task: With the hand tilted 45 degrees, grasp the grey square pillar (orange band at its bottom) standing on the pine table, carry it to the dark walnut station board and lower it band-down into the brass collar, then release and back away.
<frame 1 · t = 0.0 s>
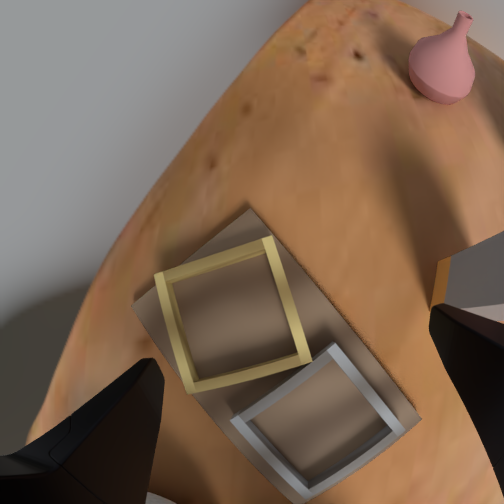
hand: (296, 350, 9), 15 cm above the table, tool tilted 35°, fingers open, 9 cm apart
station board: (277, 371, 23), on the table
grey square pillar: (456, 292, 22), on the table
pink vase: (430, 90, 26), on the table
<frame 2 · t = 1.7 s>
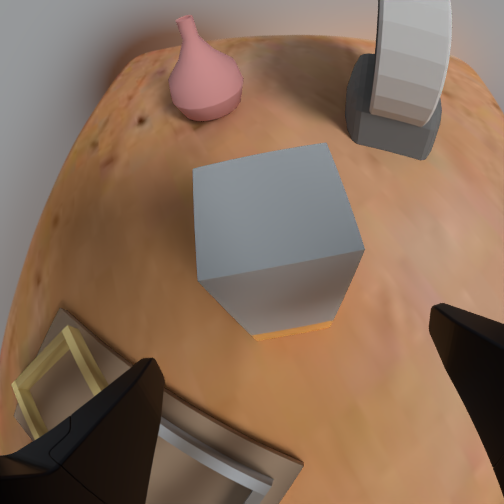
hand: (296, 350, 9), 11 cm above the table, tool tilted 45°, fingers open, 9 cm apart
station board: (123, 449, 18), on the table
grey square pillar: (288, 304, 21), on the table
pink vase: (215, 112, 31), on the table
alarm clock: (391, 113, 27), on the table
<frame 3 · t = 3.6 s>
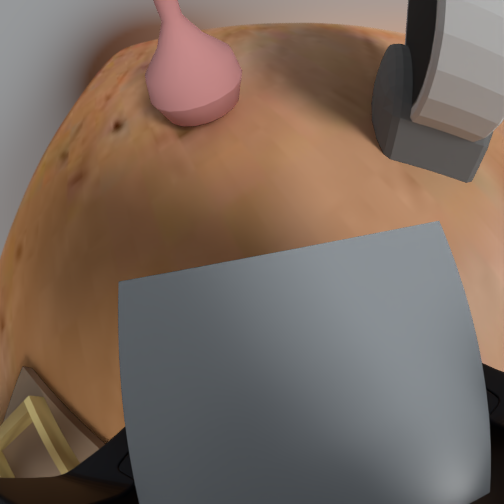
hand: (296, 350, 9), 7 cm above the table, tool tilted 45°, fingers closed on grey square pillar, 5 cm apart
grey square pillar: (302, 388, 14), on the table, touching gripper
pink vase: (206, 113, 25), on the table
alarm clock: (426, 119, 21), on the table
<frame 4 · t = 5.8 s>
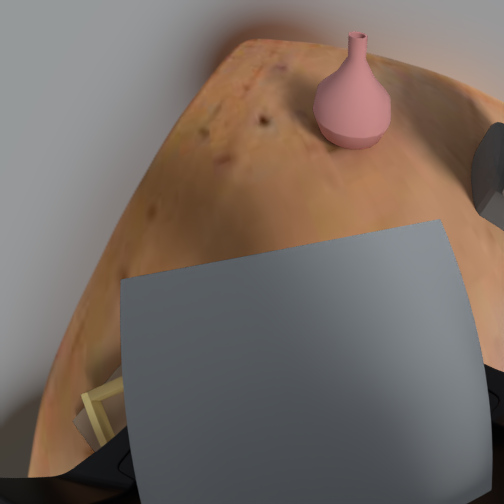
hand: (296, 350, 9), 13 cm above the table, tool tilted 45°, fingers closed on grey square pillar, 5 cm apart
station board: (212, 477, 18), on the table
grey square pillar: (303, 387, 14), point 6 cm above the table, touching gripper
pink vase: (349, 136, 29), on the table
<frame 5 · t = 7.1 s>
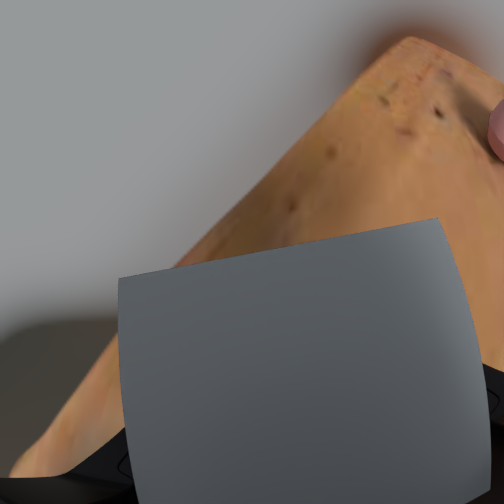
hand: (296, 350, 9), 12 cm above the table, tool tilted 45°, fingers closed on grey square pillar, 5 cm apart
grey square pillar: (302, 387, 14), point 5 cm above the table, touching gripper
when the fingers open (9 cm above the table, at t = 8.1 s): grey square pillar stays where it is, resting on station board.
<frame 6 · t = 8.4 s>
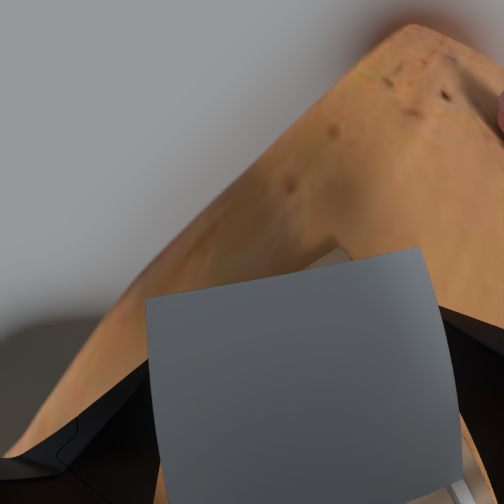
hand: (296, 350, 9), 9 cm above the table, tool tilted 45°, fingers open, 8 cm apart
station board: (347, 459, 14), on the table
grey square pillar: (302, 387, 15), point 1 cm above the table, touching station board
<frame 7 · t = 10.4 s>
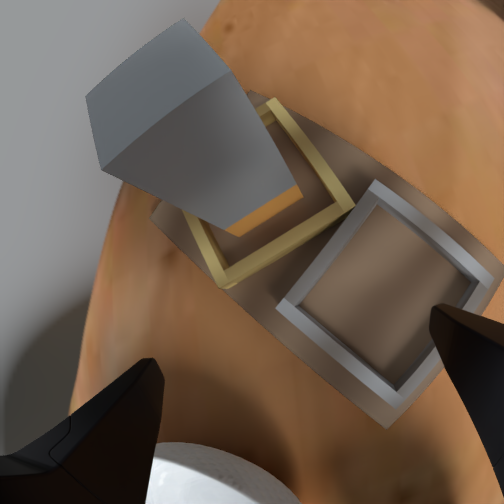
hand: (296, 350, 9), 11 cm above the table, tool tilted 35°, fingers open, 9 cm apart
station board: (322, 242, 19), on the table
grey square pillar: (255, 191, 20), point 1 cm above the table, touching station board
cereal bowl: (227, 500, 19), on the table
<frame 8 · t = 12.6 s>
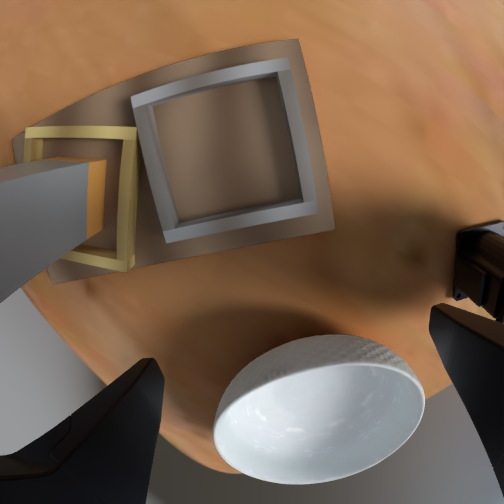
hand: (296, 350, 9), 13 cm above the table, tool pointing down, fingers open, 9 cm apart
station board: (149, 169, 20), on the table
grey square pillar: (79, 192, 19), point 1 cm above the table, touching station board
cereal bowl: (312, 380, 26), on the table
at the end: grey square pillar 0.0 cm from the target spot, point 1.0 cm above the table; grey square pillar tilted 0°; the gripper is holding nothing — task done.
